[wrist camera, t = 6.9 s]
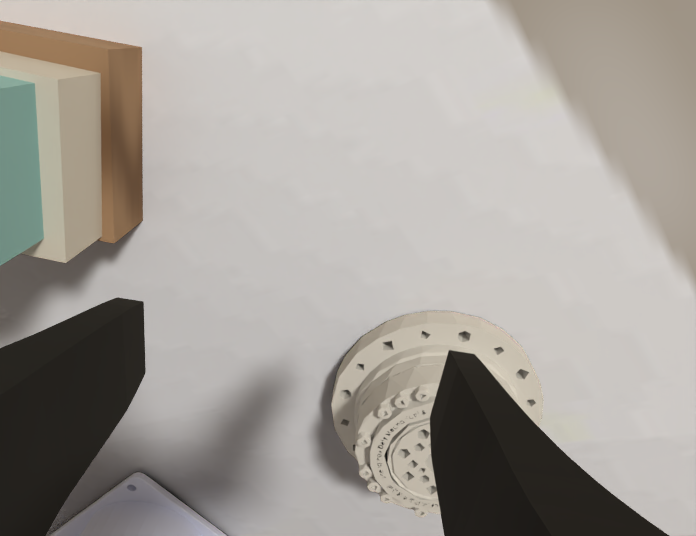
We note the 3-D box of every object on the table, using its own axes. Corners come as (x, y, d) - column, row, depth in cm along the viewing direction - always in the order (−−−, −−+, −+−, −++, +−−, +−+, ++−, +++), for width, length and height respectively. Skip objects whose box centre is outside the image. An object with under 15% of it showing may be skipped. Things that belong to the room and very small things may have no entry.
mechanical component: (294, 365, 25) (397, 491, 28) (279, 428, 21) (400, 567, 24) (477, 270, 22) (567, 421, 26) (499, 321, 18) (602, 493, 22)
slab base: (146, 217, 22) (114, 243, 20) (-13, 189, 22) (-68, 211, 19) (146, 47, 19) (108, 49, 17) (-38, 12, 19) (-107, 9, 16)
